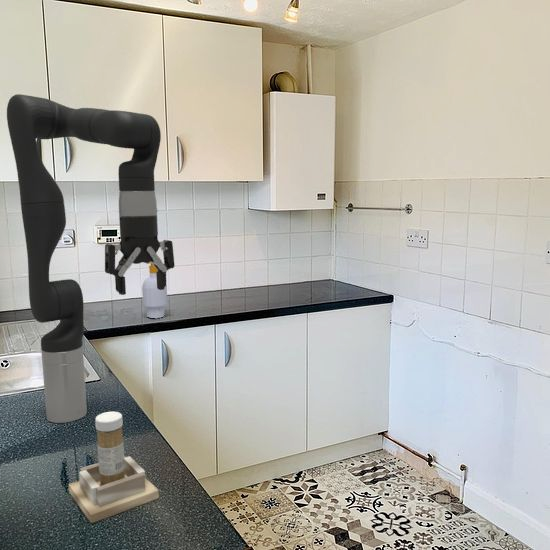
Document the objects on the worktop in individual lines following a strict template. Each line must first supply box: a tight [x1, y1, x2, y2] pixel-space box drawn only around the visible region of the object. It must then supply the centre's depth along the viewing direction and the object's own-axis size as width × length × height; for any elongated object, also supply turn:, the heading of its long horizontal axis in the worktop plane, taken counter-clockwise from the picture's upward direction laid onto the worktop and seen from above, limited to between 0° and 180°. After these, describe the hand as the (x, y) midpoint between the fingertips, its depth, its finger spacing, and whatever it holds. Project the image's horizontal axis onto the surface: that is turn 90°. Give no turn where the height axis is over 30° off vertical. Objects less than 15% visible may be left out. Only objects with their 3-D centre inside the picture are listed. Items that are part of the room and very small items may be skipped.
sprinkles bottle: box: [94, 411, 125, 486], centre depth 96 cm, size 5×5×13 cm
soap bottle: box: [141, 263, 168, 318], centre depth 232 cm, size 10×10×24 cm
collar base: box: [67, 454, 160, 524], centre depth 97 cm, size 12×12×4 cm
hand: (141, 291), depth 113 cm, fingers open, 8 cm apart
